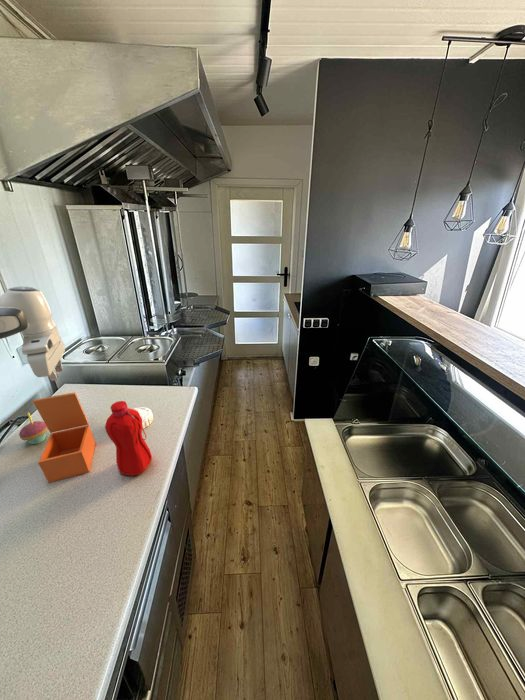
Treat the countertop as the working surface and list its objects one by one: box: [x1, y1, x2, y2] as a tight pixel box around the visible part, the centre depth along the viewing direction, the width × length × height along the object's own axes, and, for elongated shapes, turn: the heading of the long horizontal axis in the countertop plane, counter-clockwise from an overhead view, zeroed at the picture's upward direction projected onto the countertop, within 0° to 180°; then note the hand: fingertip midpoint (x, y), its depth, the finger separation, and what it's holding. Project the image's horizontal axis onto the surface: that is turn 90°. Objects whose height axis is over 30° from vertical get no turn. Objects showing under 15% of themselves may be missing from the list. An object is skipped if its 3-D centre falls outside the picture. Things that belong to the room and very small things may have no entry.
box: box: [37, 424, 97, 483], centre depth 95 cm, size 14×12×9 cm
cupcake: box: [18, 410, 49, 445], centre depth 105 cm, size 9×8×12 cm
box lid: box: [32, 391, 90, 434], centre depth 95 cm, size 14×12×1 cm
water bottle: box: [104, 400, 153, 477], centre depth 90 cm, size 9×11×25 cm
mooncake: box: [133, 406, 154, 430], centre depth 114 cm, size 12×12×4 cm
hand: (57, 375), depth 97 cm, fingers open, 5 cm apart
